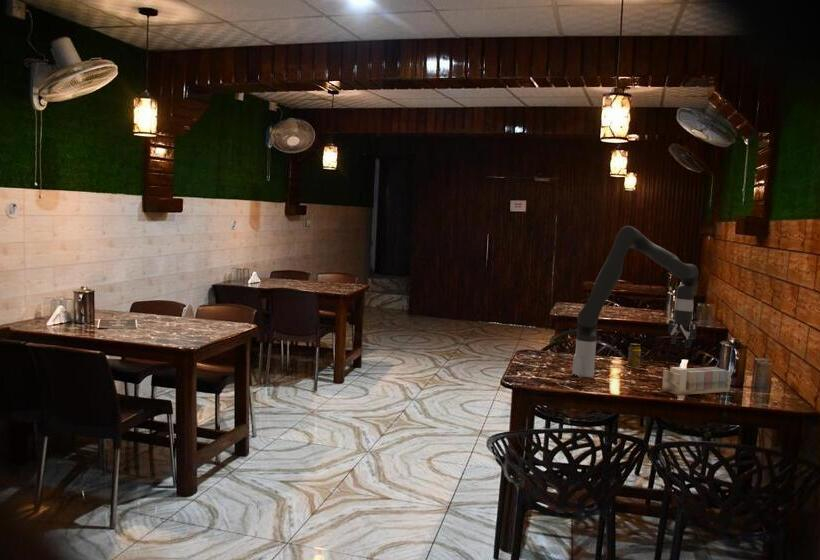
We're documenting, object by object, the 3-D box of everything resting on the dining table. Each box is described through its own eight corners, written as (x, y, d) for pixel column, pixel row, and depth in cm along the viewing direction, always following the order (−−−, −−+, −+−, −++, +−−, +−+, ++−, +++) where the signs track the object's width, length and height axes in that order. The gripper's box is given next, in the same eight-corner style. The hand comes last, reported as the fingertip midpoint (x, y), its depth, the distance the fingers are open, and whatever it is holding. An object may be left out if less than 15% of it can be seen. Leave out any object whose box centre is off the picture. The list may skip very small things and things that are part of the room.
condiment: (642, 368, 338) (644, 345, 337) (627, 367, 336) (629, 345, 335) (636, 365, 345) (637, 342, 344) (621, 364, 344) (622, 342, 343)
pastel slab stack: (729, 391, 293) (730, 370, 292) (676, 394, 282) (678, 373, 282) (713, 386, 301) (715, 366, 301) (661, 389, 291) (663, 368, 290)
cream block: (678, 390, 285) (680, 370, 284) (669, 387, 290) (670, 367, 289) (685, 389, 286) (687, 369, 286) (676, 386, 291) (677, 366, 291)
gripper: (665, 307, 290) (662, 342, 292) (689, 311, 277) (685, 349, 278) (678, 307, 293) (675, 342, 294) (702, 311, 280) (699, 348, 281)
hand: (680, 345), depth 286 cm, fingers open, 8 cm apart
